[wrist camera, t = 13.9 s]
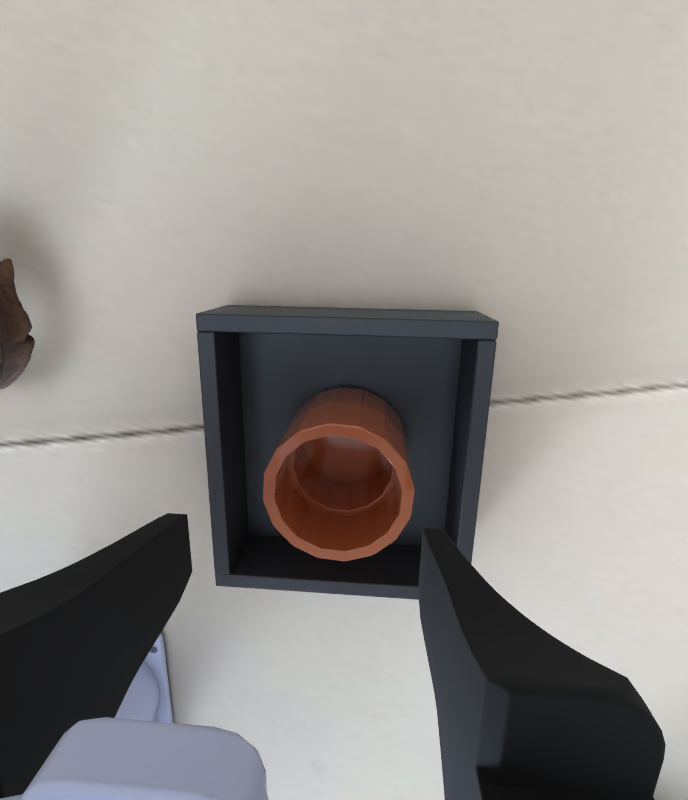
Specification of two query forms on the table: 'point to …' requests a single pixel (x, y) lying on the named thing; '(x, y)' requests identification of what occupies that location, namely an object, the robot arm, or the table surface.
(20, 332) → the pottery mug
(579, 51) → the table surface
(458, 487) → the tray
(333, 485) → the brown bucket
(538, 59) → the table surface
